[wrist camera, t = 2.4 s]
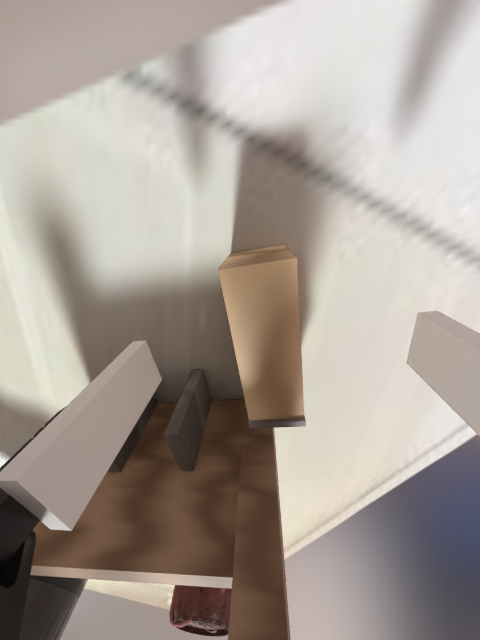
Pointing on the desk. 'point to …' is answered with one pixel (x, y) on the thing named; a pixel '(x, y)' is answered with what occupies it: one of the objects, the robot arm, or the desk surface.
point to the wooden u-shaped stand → (186, 512)
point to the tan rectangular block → (266, 333)
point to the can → (201, 610)
